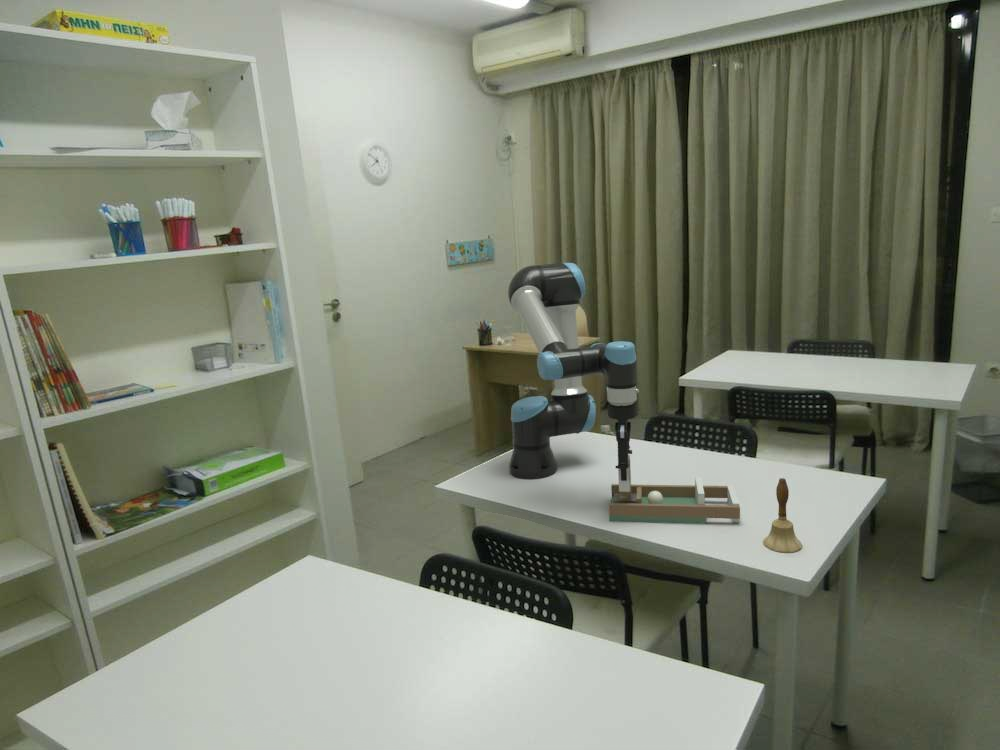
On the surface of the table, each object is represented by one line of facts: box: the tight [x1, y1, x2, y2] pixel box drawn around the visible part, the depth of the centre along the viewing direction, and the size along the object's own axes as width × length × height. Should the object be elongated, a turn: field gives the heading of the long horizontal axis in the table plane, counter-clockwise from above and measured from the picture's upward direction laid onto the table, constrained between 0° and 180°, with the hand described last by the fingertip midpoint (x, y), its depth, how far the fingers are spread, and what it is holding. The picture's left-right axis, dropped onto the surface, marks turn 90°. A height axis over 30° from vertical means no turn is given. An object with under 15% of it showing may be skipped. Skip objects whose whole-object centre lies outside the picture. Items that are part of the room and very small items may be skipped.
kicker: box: [614, 458, 642, 504], centre depth 173 cm, size 7×8×12 cm
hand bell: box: [762, 477, 803, 554], centre depth 149 cm, size 8×8×16 cm
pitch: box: [608, 476, 741, 525], centre depth 172 cm, size 32×14×8 cm, turn 78°
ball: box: [647, 491, 663, 504], centre depth 173 cm, size 4×4×4 cm
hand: (625, 484), depth 173 cm, fingers open, 9 cm apart
